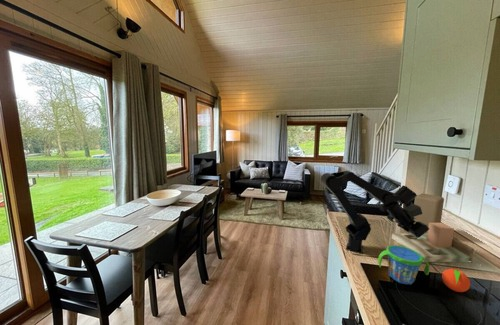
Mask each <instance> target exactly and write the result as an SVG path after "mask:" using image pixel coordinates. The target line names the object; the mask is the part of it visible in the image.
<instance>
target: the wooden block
mask: <svg viewBox="0 0 500 325" xmlns="http://www.w3.org/2000/svg"><path fill="white" fill-rule="evenodd" d="M416 195H417V196H416V197H415V198H414V203H413V204H415V205H417V206H420V207H421V210H422V213H423V214H421V215H418V216H415V217H414V218H415V219H414V221H416V222H417V221H418V222H422V223H424V224H426V225H427V226H428V227H429V223H442V217H443V209H444V203H445V198H444V197H443V196H438V195H432V194H428V193H424V192H423V193H420V194H416ZM424 234H428V231H427V232H426V233H424Z"/></svg>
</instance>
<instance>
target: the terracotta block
mask: <svg viewBox="0 0 500 325" xmlns="http://www.w3.org/2000/svg"><path fill="white" fill-rule="evenodd" d="M454 232H455V228H454V227H452V226H449V225H448V224H446V223H443V222H441V223H429V230H428V234H427V241H428V242H430V243H431V244H433V245H435V246H436V247H442V248H451V245H452V239H453V238H454Z"/></svg>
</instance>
